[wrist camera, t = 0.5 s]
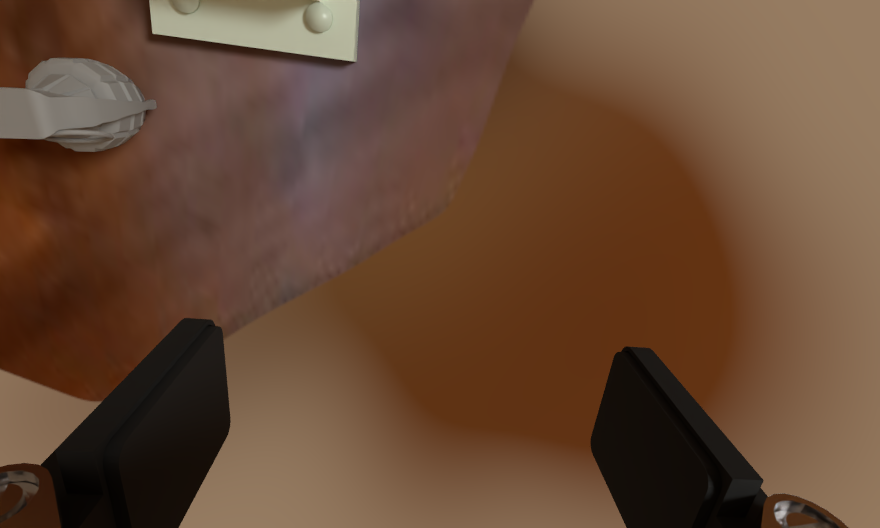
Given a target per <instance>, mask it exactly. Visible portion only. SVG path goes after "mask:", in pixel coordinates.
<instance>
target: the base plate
mask: <svg viewBox="0 0 880 528" xmlns="http://www.w3.org/2000/svg"><path fill="white" fill-rule="evenodd" d="M149 3H150V13H151V23H152V33H153V34H159V35H166V36H174V37H181V38H188V39H195V40H202V41H209V42H217V43H224V44H231V45H238V46H245V47H253V48H260V49H267V50H274V51H281V52H289V53H296V54H303V55H310V56H317V57H324V58H332V59H339V60H346V61H353V62H357V43H358V24H359V5H360V0H320V2H319V1H312V0H149Z"/></svg>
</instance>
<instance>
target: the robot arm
mask: <svg viewBox="0 0 880 528" xmlns="http://www.w3.org/2000/svg"><path fill="white" fill-rule="evenodd" d="M228 399H229V398H228V387H227V377H226V365H225V354H224V344H223V332H222V329H221V327H218V326H215V324H214V322H213V321H212V320H207V319H192V318H184V319H183V320H181V321H180V322H179V323H178V324H177V326H176V327H175V328H174V329H173V330H172V331H171V332H170V333H169V334H168V335H167V336H166V337H165V338H164V339H163V340H162V341H161V342H160V343H159V344H158V345H157V346H156V347H155V348H154V349H153V350H152V351H151V352H150V353H149V354H148V355H147V356H146V357H145V358H144V359H143V360H142V361H141V362H140V364H139V365H138V366H137V367H136V368H135V369H134V370H133V371H132V372H131V373H130V374H129V375H128V376H127V377H126V378H125V379H124V380H123V381H122V382H121V383H120V384H119V385H118V386H117V387H116V388H115V389H114V390H113V391H112V392H111V393H110V394H109V395H108V396H107V397H106V398H105V399H104V400H103V402H102V403H101V404H100V405H99V406H98V407H97V408H96V409H95V410H94V411H93V412H92V413H91V414H90V415H89V416H88V417H87V418H86V419H85V420H84V421H83V422H82V423H81V424H80V425H79V426H78V427H77V428H76V429H75V430H74V431H73V432H72V433H71V434H70V435H69V436H68V437H67V439H66V440H65V441H64V442H63V443H62V444H61V445H60V446H59V447H58V448H57V449H56V450H55V451H54V452H53V453H52V454H51V455H50V456H49V457H48V458H47V459H46V460H45V461H44V462H43V463H42V464H41V465H36V464H27V463H22V464H13V465H6V466H3V467H0V528H179V526H180V523H181V522H182V520H183V518H184V516H185V514H186V512H187V510H188V509H189V507H190V505H191V503H192V501H193V499H194V498H195V496H196V494H197V492H198V490H199V488H200V486H201V484H202V482H203V480H204V479H205V477H206V475H207V473H208V471H209V469H210V467H211V466H212V464H213V462H214V460H215V458H216V456H217V454H218V452H219V451H220V449H221V447H222V445H223V443H224V441H225V439H226V437H227V435H228V432H229V428H230V411H229V400H228ZM591 450H592V453H593V456H594V458H595V460H596V462H597V464H598V466H599V469H600V471H601V473H602V475H603V477H604V480H605V481H606V484H607V486H608V488H609V490H610V493H611V494H612V497H613V499H614V501H615V503H616V506H617V508H618V510H619V512H620V514H621V516H622V519H623V521H624V523H625V525H626V527H627V528H848V527H847V526H846V525H845V524H844V523H843V522H842V521H841V520H840V519H838V518H837V517H835V516H834V515H833V514H831V513H830V512H829V511H827V510H825V509H824V508H822V507H820V506H818V505H817V504H815V503H813V502H811V501H808V500H806V499H803V498H800V497H798V496H794V495H789V494H773V495H771V496H769V497H768V496H767V495H766V494H765V493H764V492H763V490H762V489H761V488H760V487H761V485H762V483H763V479H762V478H761V477H760V476H759V474H758V473H757V472H756V471H755V470H754V469H753V467H752V466H751V465H750V464H749V463H748V462H747V461H746V459H745V458H744V457H743V456H742V454H741V453H740V452H739V451H738V450H737V449H736V448H735V446H734V445H733V444H732V443H731V442H730V441H729V439H728V438H727V437H726V436H725V435H724V433H723V432H722V431H721V430H720V429H719V428H718V426H717V425H716V424H715V423H714V422H713V421H712V419H711V418H710V417H709V416H708V415H707V414H706V412H705V411H704V410H703V409H702V408H701V406H700V405H699V404H698V403H697V402H696V401H695V399H694V398H693V397H692V396H691V395H690V394H689V392H688V391H687V390H686V389H685V388H684V387H683V386H682V384H681V383H680V382H679V381H678V380H677V378H676V377H675V376H674V375H673V374H672V373H671V372H670V370H669V369H668V368H667V367H666V366H665V364H664V363H663V362H662V361H661V360H660V359H659V357H658V356H657V355H656V354H655V353H654V351H653V350H651V349H650V348H638V347H624V348H623V350H622V351H621V352H617V353H616V354H615V356H614V359H613V362H612V366H611V369H610V373H609V376H608V380H607V383H606V387H605V391H604V394H603V398H602V401H601V404H600V408H599V412H598V415H597V419H596V422H595V425H594V429H593V432H592V436H591Z"/></svg>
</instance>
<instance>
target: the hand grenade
mask: <svg viewBox="0 0 880 528" xmlns="http://www.w3.org/2000/svg"><path fill="white" fill-rule="evenodd" d="M144 100H145V99H144V97H143V95H142V93H141V91H140V89H139V88H138V87H137V86H136V85H134V83H133V82H132V80H131V79H129V78H128V77H127V76H125V75H124V74H122V73H121V72H119V71H118V70H116V69H115V68H113V67H112V66H109V65H108V64H103V63H100V62H99V61H95V60H91V59H83V58H50V59H49V60H48V61H42V62H41V63H40V64H39V65H38V66H36V67H35V68H34V69H33V70H32V71H31V72H30V73H29V77H28V80H26V88H7V87H0V138H17V139H44V140H47V141H52V142H57V143H59V144H60V145H62V146H63V147H65V148H71V149H73V150H74V151H85V152H97V151H103V150H106V149H111V148H113V147H117V146H119V145H121V144H123V143H125V142H126V141H128V140H129V139H130V138H131V137H132V136H134V135H135V134H136V133H137V132H138V131H139V130H140V128H141V126H142V124H143V122H144V120H145V114H146V110H153V109H155V108H157V106H156V101H155V100H147V101H145V102H144Z"/></svg>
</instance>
